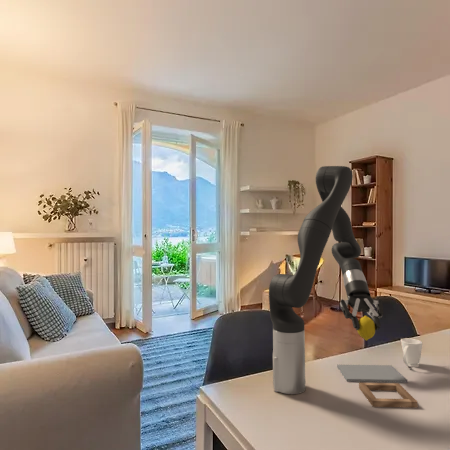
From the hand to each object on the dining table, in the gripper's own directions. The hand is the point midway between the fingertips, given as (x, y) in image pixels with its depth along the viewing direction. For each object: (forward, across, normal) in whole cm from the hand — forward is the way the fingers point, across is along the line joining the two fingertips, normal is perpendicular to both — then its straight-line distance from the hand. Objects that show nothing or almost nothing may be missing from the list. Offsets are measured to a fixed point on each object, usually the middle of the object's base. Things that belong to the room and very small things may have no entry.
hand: (367, 328), depth 113 cm
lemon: (+2, 0, +4) cm, 5 cm away
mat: (+9, +1, +12) cm, 15 cm away
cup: (+4, +17, +18) cm, 25 cm away
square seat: (+21, 0, 0) cm, 21 cm away
